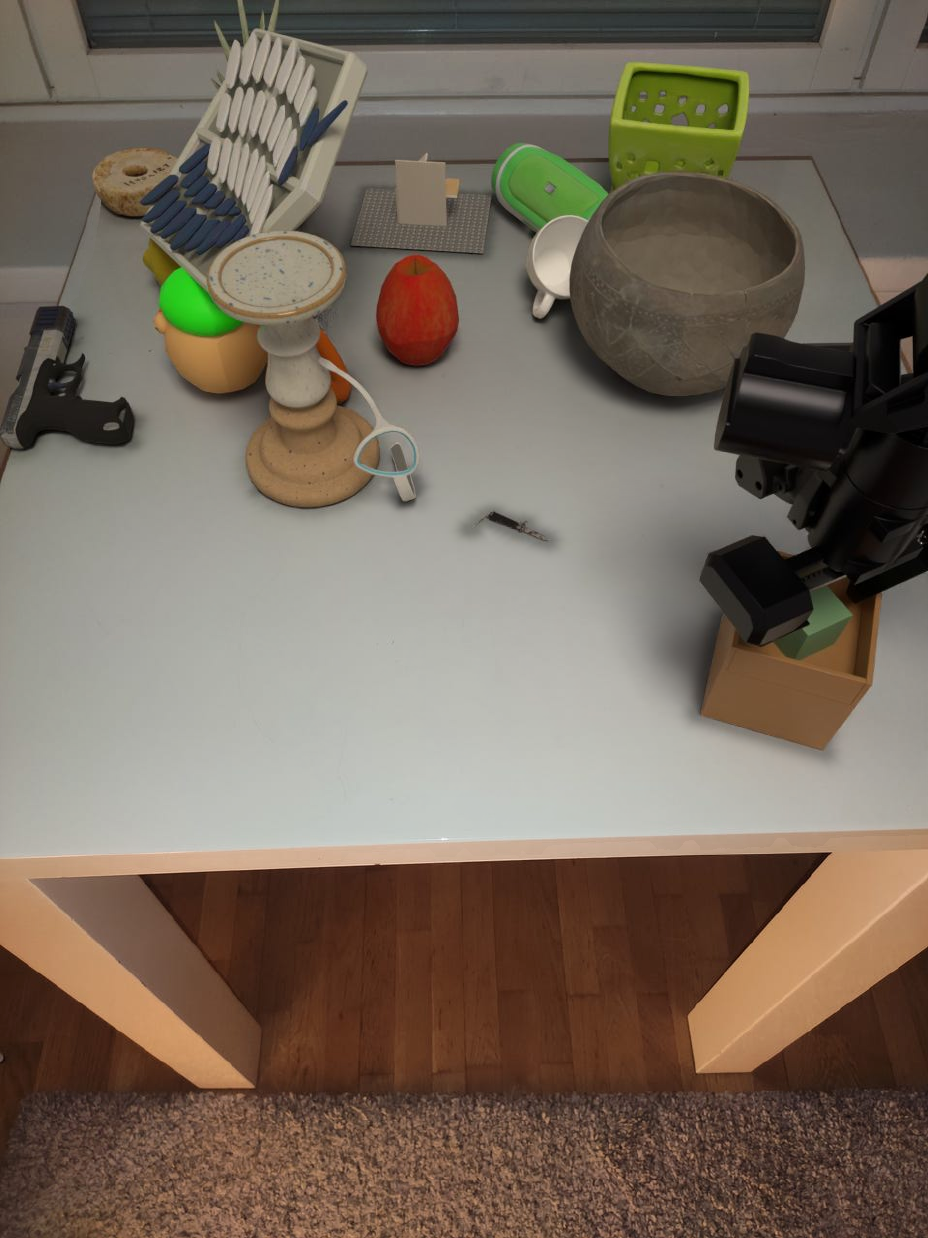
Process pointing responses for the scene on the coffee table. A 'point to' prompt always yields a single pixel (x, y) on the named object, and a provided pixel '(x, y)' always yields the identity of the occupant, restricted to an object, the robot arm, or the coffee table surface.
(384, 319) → the apple
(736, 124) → the flower pot
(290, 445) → the candle holder
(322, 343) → the orange flat curved piece
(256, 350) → the figurine
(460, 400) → the coffee table surface
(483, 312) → the coffee table surface
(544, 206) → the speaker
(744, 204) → the bowl
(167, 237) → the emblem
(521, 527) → the knife
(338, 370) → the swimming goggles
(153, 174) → the stone disc
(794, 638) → the block
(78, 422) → the handgun
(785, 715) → the box
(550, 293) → the cup
